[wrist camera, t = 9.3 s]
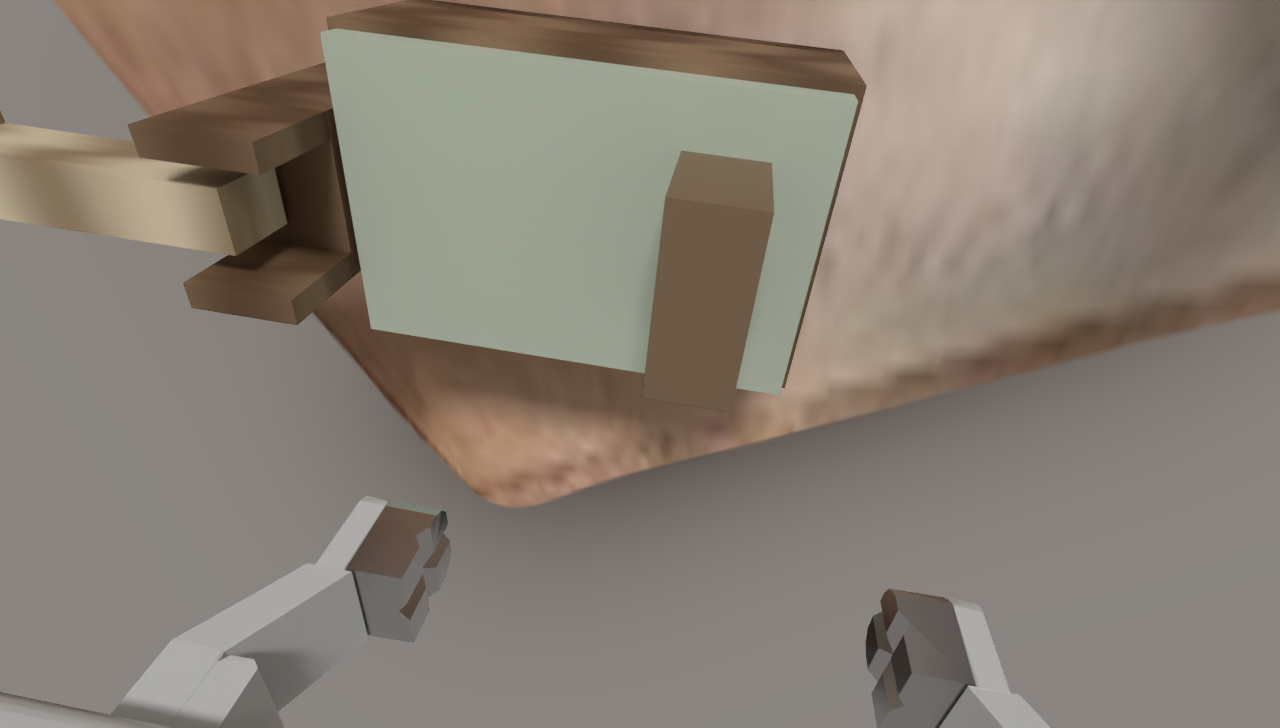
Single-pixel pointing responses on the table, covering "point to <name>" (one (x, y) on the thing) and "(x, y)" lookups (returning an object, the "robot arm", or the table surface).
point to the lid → (586, 207)
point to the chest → (311, 158)
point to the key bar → (131, 192)
